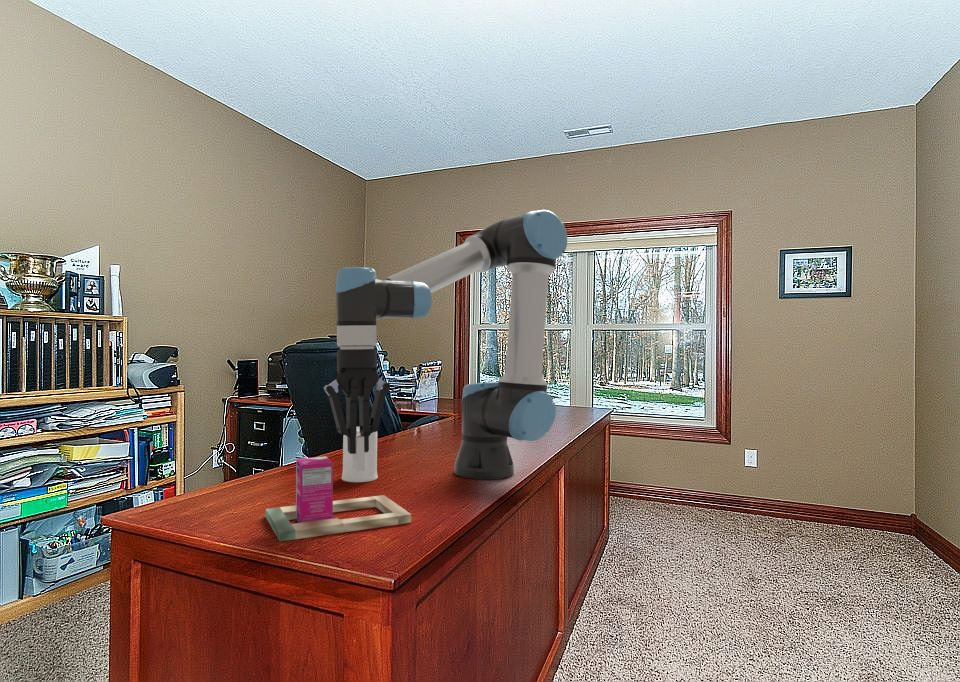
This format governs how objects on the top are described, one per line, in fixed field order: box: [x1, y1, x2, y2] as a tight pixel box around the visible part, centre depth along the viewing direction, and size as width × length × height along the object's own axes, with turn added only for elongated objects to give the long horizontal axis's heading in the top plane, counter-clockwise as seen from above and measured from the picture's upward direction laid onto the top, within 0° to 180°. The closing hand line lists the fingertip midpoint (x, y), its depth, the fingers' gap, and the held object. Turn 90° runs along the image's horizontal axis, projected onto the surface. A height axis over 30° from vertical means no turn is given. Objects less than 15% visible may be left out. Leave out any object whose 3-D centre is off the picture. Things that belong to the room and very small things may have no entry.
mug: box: [341, 426, 379, 483], centre depth 141 cm, size 12×8×12 cm
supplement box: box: [295, 456, 334, 523], centre depth 104 cm, size 6×6×12 cm
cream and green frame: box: [265, 494, 412, 542], centre depth 106 cm, size 23×15×2 cm, turn 119°
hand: (358, 469), depth 111 cm, fingers closed
